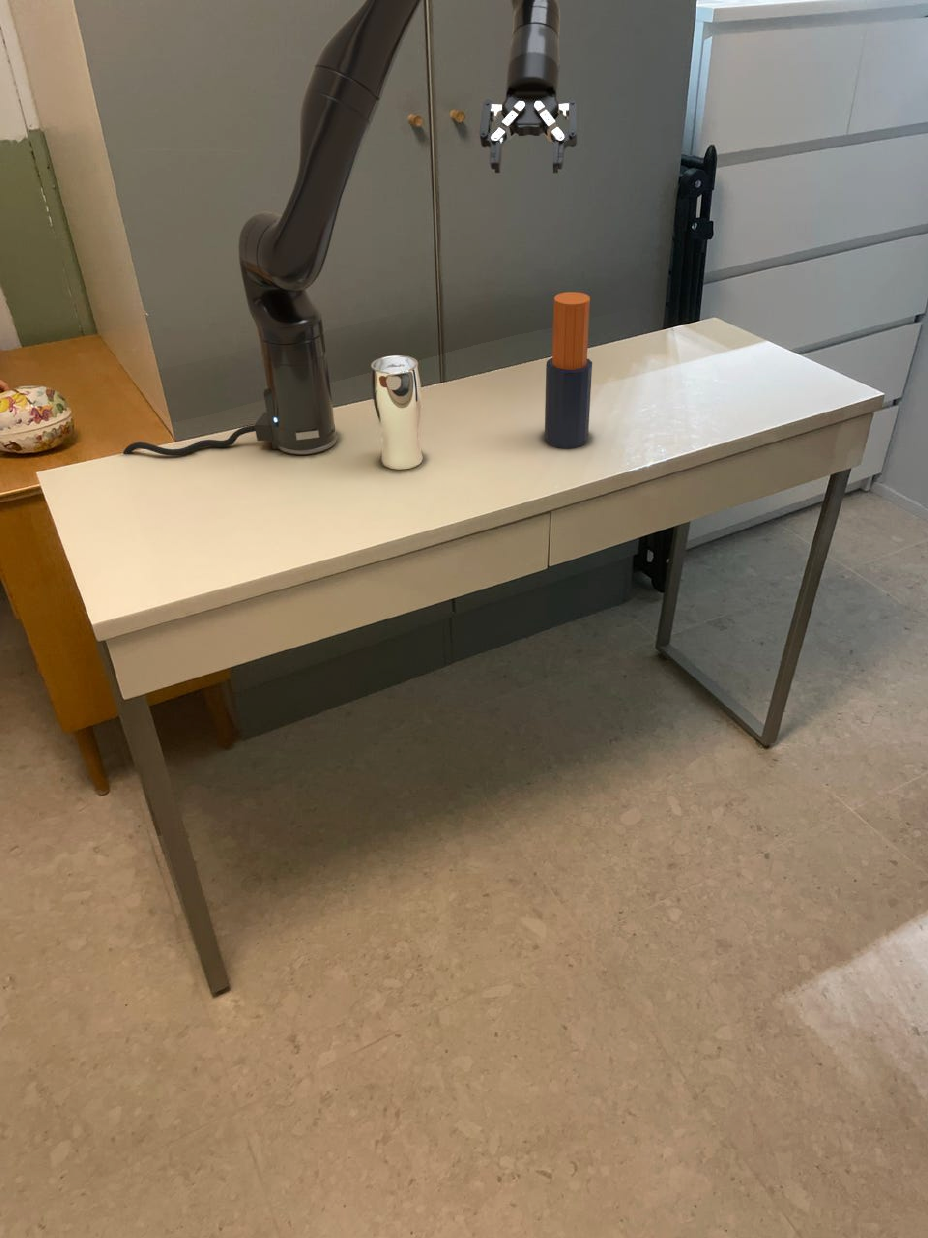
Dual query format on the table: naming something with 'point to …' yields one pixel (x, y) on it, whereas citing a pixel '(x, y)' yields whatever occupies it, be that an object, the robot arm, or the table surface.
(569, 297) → the grooved orange cylinder
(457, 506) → the table surface
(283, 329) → the robot arm
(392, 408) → the silver metal tumbler
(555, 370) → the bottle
